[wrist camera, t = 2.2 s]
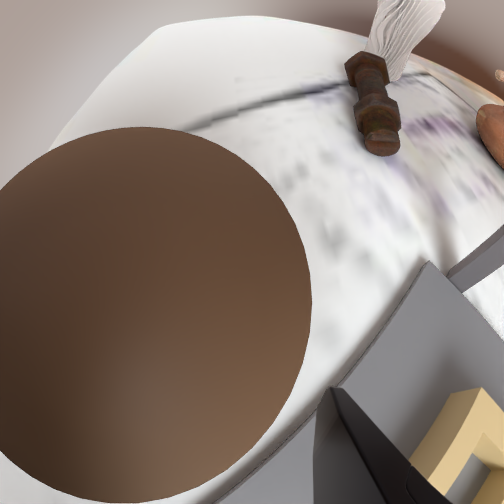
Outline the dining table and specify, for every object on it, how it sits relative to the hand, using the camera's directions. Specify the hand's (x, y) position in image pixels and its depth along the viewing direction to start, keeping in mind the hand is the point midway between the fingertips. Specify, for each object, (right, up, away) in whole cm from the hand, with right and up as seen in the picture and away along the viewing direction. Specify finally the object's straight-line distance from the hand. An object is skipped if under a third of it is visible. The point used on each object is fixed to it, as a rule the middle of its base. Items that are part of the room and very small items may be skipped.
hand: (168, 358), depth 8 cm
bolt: (+14, +17, +21) cm, 31 cm away
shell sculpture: (+20, +28, +27) cm, 44 cm away
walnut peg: (-1, -4, +7) cm, 8 cm away
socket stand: (+17, -11, +5) cm, 21 cm away
